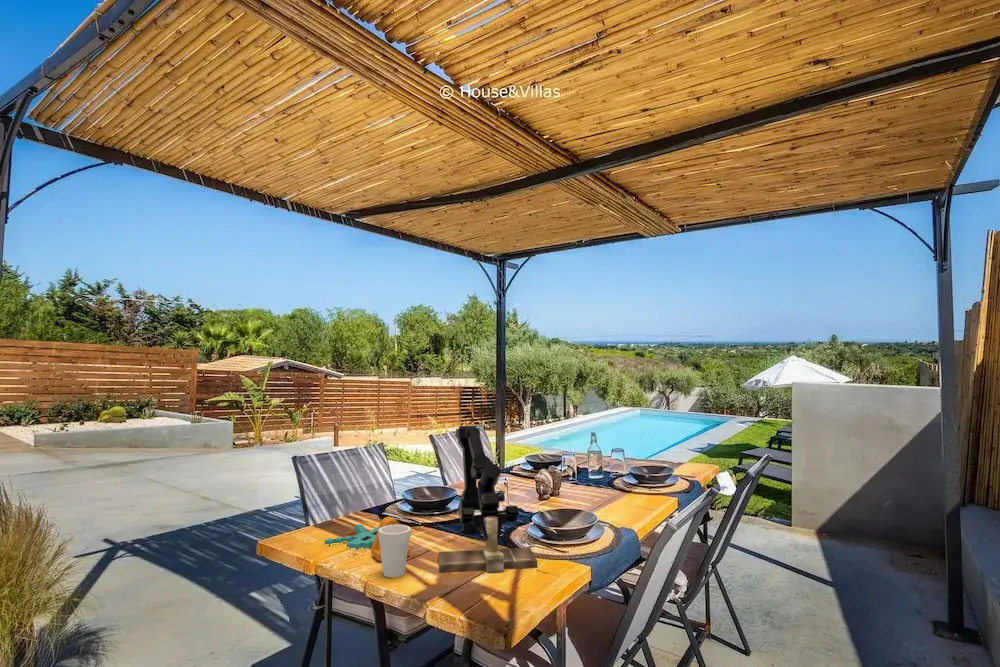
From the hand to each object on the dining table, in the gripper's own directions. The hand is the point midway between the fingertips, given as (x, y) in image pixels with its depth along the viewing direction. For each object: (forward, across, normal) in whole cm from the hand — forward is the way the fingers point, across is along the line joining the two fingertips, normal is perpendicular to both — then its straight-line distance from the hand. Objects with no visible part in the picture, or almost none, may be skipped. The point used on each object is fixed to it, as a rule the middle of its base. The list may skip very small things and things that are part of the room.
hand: (492, 539), depth 167 cm
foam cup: (+7, -30, +4) cm, 31 cm away
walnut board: (+4, -2, +6) cm, 8 cm away
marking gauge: (+6, 0, +4) cm, 8 cm away
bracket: (-3, -31, +14) cm, 34 cm away
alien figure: (-16, -40, +28) cm, 51 cm away
